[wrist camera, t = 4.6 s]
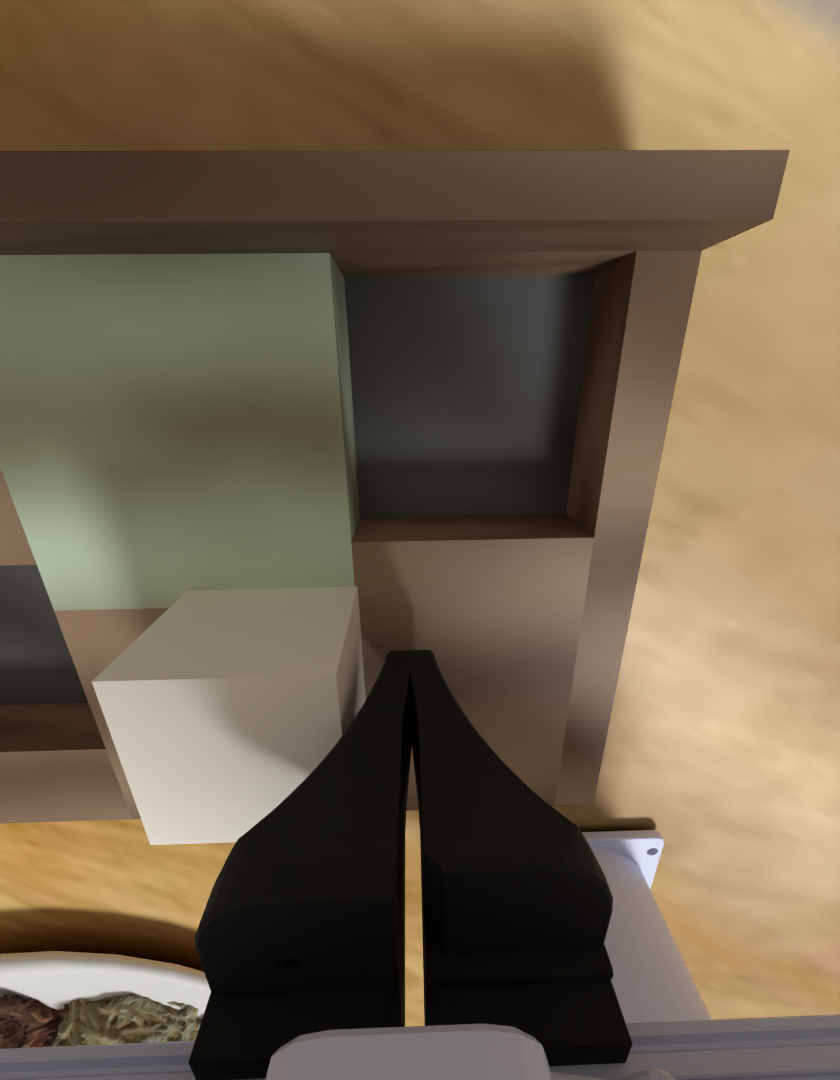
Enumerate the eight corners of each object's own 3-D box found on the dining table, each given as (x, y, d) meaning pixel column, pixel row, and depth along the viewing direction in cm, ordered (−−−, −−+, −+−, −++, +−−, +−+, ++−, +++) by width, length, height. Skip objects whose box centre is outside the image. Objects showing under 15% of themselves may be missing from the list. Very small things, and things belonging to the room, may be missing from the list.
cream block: (366, 717, 14) (352, 837, 10) (219, 721, 14) (150, 844, 10) (357, 586, 12) (335, 675, 9) (187, 590, 12) (91, 681, 9)
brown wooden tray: (569, 750, 18) (617, 860, 14) (-56, 768, 18) (-200, 888, 14) (650, 234, 11) (789, 149, 7) (-360, 240, 11) (-836, 152, 7)
